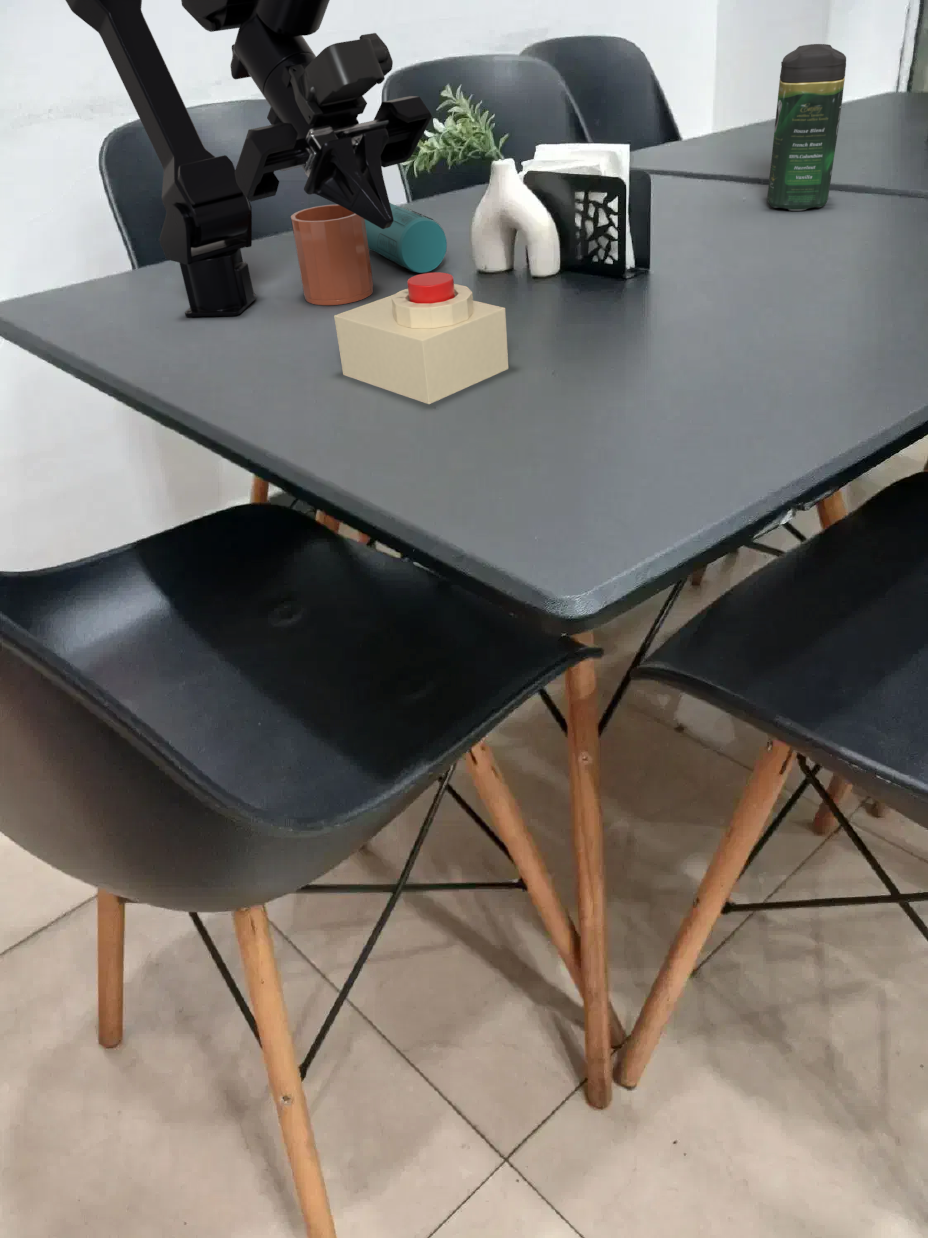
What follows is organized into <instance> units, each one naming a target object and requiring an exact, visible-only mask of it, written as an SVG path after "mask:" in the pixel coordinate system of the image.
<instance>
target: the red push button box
mask: <svg viewBox="0 0 928 1238" xmlns="http://www.w3.org/2000/svg"><path fill="white" fill-rule="evenodd" d="M454 292H455V298H452V299H450V300H447V301H444V302H438V303H431V304H425V303H413V302H410V301H409V292H408V287H407V288H405V289H402V290H399V291H398V292H396V293H394V294H391V295H389V296H386V297H382V298H379V299H377V300H373V301H372V302H369V303H365V304H363V305H360V306H357V307H354V308H352V309H349V310H346V311H343V312H341V313H338V314H334V317H333V319H334V324H335V329H336V336H337V343H338V349H339V356H340V362H341V369H342V370H341V371H342V375H343V376H346V377H348V378H351V379H354V380H358V381H360V382H362V383H366V384H368V385H371V386H374V387H377V388H380V389H383V390H386V391H389V392H392V393H394V394H398V395H401V396H403V397H406V398H410V399H413V400H415V401H418V402H421V403H424V404H427V405H430V404H433V403H435V402H438V401H439V400H443V399H444V398H446V397H449V396H451V395H453V394H455V393H458V392H460V391H462V390H464V389H467V388H468V387H471V386H474V385H476V384H478V383H480V382H482V381H485V380H487V379H489V378H491V377H494V376H495V375H498V374H500V373H502V372H504V371H507V370H509V355H508V354H509V351H508V336H507V335H508V333H507V316H506V315H507V314H506V307H503V306H498V305H494V304H490V303H486V302H481V301H478V300H474V297H473V294H474V293H473V291H472V289H470V288H469V287H468V286H466V285H462V284H457V283H454Z"/></svg>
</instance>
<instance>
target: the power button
mask: <svg viewBox="0 0 928 1238" xmlns="http://www.w3.org/2000/svg"><path fill="white" fill-rule="evenodd" d="M454 281H455V280H454V276H453V275H452V274H450V273H447V272H438V271H437V272H427V273H426V272H425V273H423V274H422V273H419V274H416V275H414V276H411V277H410V278H408V280H407V282H406V283H407V288H408V292H409V301H410V302H413V303H425V304H431V303H438V302H444V301H447V300H450V299H452V298H455V292H454V284H455V282H454Z"/></svg>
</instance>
